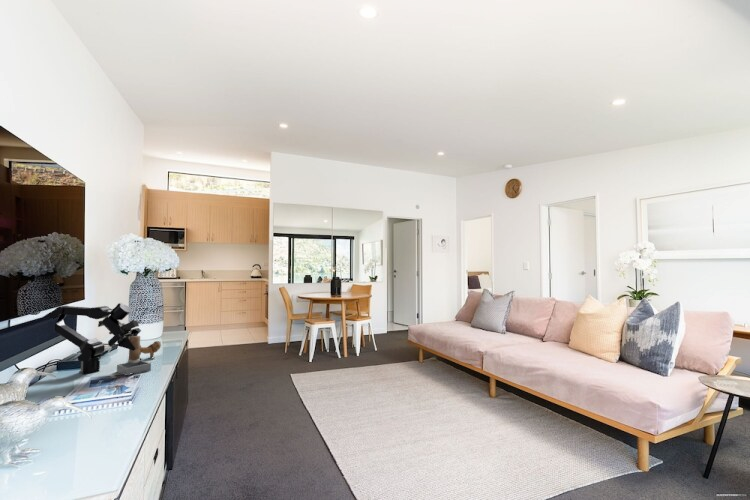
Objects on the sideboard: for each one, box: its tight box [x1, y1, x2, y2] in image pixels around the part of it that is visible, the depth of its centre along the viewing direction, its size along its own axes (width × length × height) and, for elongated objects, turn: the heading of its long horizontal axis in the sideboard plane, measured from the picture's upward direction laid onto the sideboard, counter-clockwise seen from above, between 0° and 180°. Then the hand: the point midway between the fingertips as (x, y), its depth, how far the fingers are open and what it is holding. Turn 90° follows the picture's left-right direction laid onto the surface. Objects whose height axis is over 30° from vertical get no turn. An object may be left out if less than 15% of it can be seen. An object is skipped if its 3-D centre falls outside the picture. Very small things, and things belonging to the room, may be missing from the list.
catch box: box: [116, 359, 152, 375], centre depth 178 cm, size 11×11×4 cm
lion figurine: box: [139, 340, 162, 360], centre depth 202 cm, size 15×5×9 cm, turn 132°
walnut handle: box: [127, 335, 141, 363], centre depth 178 cm, size 5×5×12 cm
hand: (137, 348), depth 178 cm, fingers closed on walnut handle, 4 cm apart
